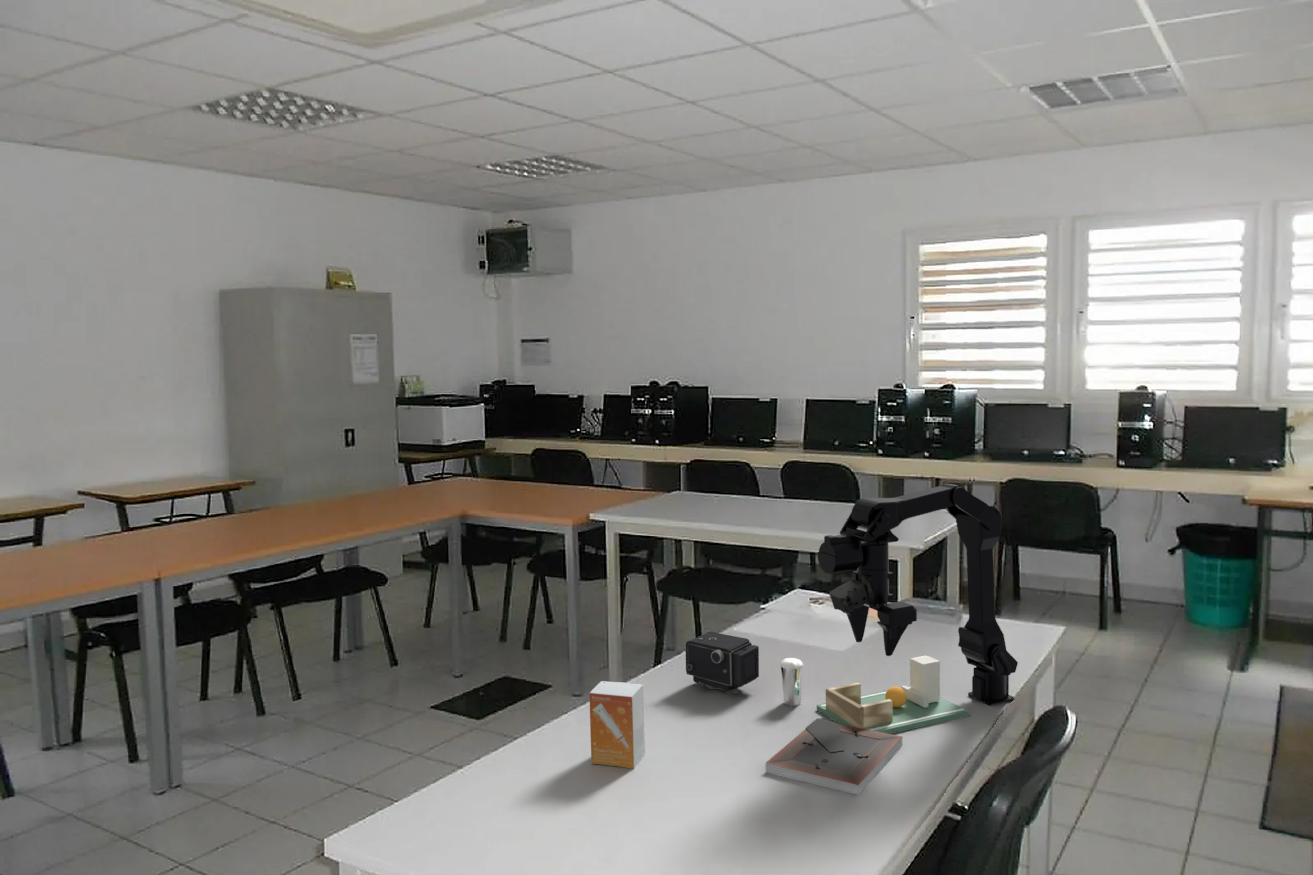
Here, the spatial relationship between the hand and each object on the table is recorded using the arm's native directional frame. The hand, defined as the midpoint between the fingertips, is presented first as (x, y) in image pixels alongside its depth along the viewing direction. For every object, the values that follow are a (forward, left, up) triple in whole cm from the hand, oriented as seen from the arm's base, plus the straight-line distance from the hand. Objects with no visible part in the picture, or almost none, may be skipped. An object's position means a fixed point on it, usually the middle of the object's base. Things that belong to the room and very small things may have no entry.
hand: (873, 648), depth 177 cm
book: (+15, +9, -16) cm, 23 cm away
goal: (+1, -3, -14) cm, 14 cm away
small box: (+49, -8, -15) cm, 52 cm away
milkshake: (+8, -16, -15) cm, 23 cm away
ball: (-7, -3, -12) cm, 14 cm away
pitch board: (-6, -3, -15) cm, 16 cm away
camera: (+17, -30, -15) cm, 37 cm away
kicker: (-14, -3, -13) cm, 20 cm away
